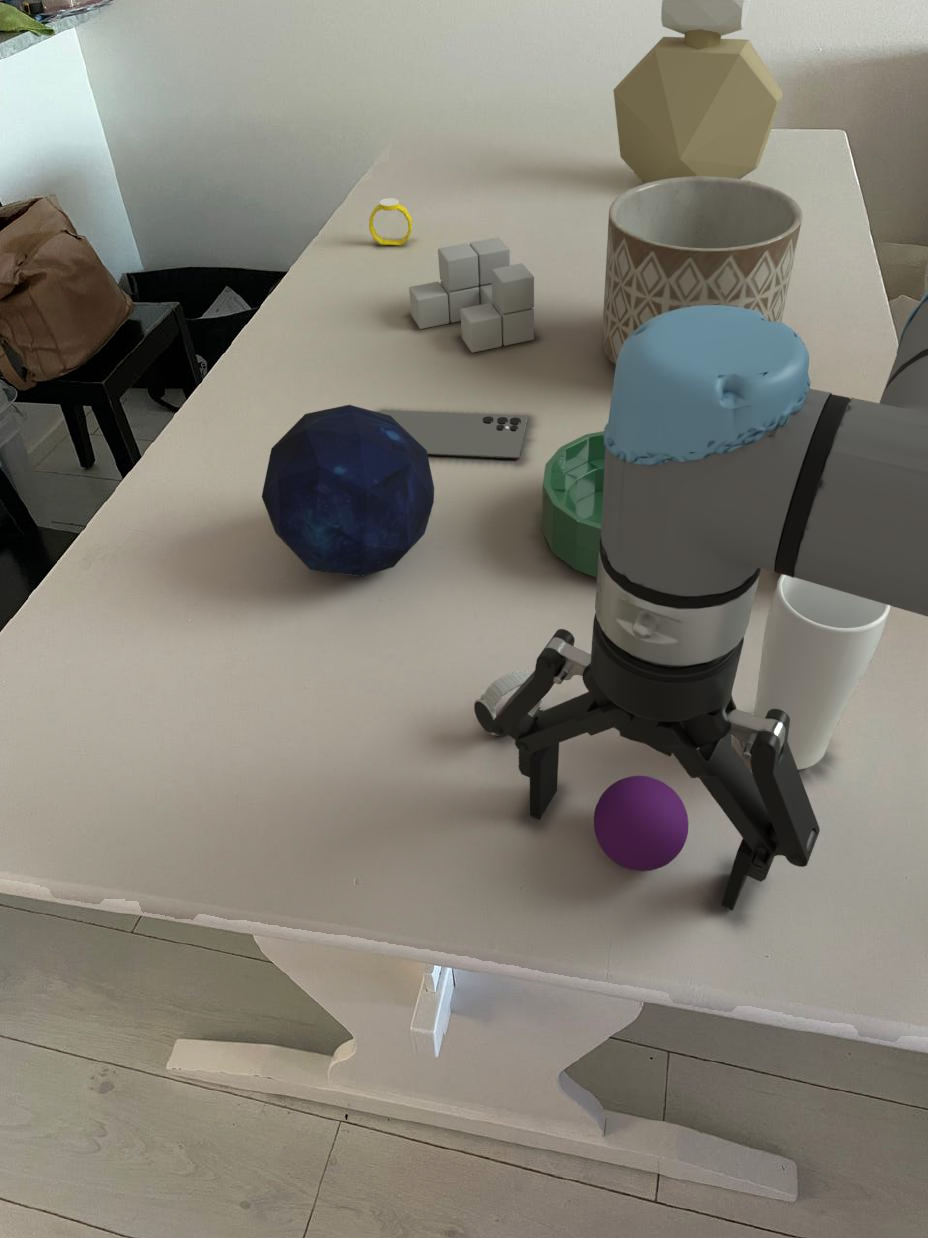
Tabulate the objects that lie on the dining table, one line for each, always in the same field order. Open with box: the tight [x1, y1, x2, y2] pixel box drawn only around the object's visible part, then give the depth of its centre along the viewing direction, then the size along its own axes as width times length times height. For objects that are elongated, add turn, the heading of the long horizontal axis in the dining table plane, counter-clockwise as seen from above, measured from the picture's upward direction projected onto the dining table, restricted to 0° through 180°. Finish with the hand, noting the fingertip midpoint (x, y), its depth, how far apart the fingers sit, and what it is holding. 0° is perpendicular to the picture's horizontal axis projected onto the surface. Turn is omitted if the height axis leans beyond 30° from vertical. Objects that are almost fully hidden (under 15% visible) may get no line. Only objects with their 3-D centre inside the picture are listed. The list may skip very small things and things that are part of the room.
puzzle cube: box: [408, 236, 535, 354], centre depth 111 cm, size 12×12×8 cm
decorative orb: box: [261, 404, 435, 578], centre depth 80 cm, size 14×15×15 cm
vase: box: [612, 0, 784, 184], centre depth 133 cm, size 12×24×28 cm, turn 69°
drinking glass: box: [753, 574, 891, 771], centre depth 62 cm, size 7×7×15 cm
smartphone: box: [379, 409, 528, 460], centre depth 97 cm, size 8×1×16 cm
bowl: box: [541, 430, 605, 578], centre depth 83 cm, size 15×15×6 cm
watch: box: [368, 197, 413, 247], centre depth 131 cm, size 6×3×6 cm, turn 86°
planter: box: [601, 176, 803, 366], centre depth 101 cm, size 19×19×16 cm
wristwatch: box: [473, 670, 543, 737], centre depth 68 cm, size 3×5×5 cm, turn 125°
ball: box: [592, 775, 689, 872], centre depth 59 cm, size 6×6×6 cm
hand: (634, 845), depth 62 cm, fingers open, 13 cm apart
